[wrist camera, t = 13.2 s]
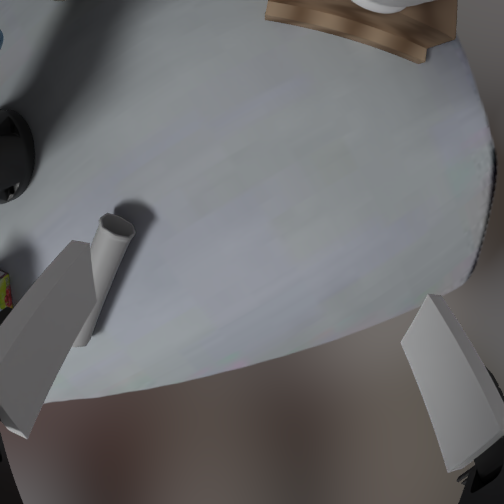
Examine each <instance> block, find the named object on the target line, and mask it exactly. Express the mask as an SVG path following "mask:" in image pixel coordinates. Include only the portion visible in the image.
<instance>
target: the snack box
mask: <svg viewBox="0 0 504 504" xmlns="http://www.w3.org/2000/svg"><path fill="white" fill-rule="evenodd" d="M6 307H10V308H13V304H12V297H11V290H10V281H9V274H8V273H6V272H3V271H1V270H0V311H1V310H3V309H4V308H6Z"/></svg>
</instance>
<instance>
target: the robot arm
mask: <svg viewBox="0 0 504 504" xmlns="http://www.w3.org/2000/svg"><path fill="white" fill-rule="evenodd" d="M2 44H3V33H2V31H1V30H0V49H1V46H2ZM33 167H34V143H33V138H32V134H31V131H30V128H29V126H28V124H27V122H26V121H25V119H24V118H23V117H22V116H21V115H20V114H19V113H17V112H15V111H13V110H0V204H4V203H7V202H9V201H12V200H14V199H16V198H17V197H19V196H20V195H21V194H22V193H23V192H24V191H25V189H26V188H27V186H28V184H29V182H30V179H31V176H32V172H33ZM96 303H97V299H96V292H95V285H94V278H93V270H92V262H91V253H90V243H86V242H80V241H74V240H72V241H71V242H70V243H69V244H68V245H67V246H66V247H65V248H64V250H63V251H62V252H61V253H60V254H59V255H58V256H57V257H56V258H55V259H54V261H53V262H52V263H51V264H50V265H49V266H48V267H47V268H46V270H45V271H44V272H43V273H42V274H41V275H40V277H39V278H38V279H37V280H36V281H35V282H34V284H33V285H32V286H31V287H30V288H29V290H28V291H27V292H26V293H25V295H24V296H23V297H22V298H21V299H20V301H19V302H18V303H17V305H16V306H15V307H14V308H10V307H6V308H4V309H3V310H1V311H0V421H1V422H2V423H3V424H4V425H5V426H6V428H7V429H8V430H10V431H12V432H14V433H16V434H18V435H20V436H22V437H24V438H26V439H28V437H29V435H30V432H31V430H32V427H33V425H34V423H35V421H36V418H37V416H38V414H39V412H40V409H41V407H42V405H43V403H44V401H45V399H46V396H47V394H48V392H49V390H50V388H51V386H52V384H53V382H54V380H55V378H56V376H57V374H58V372H59V370H60V368H61V366H62V364H63V362H64V360H65V358H66V356H67V354H68V353H69V351H70V349H71V347H72V345H73V343H74V341H75V340H76V338H77V336H78V334H79V332H80V331H81V329H82V327H83V325H84V323H85V322H86V320H87V318H88V316H89V315H90V313H91V311H92V310H93V308H94V306H95V304H96ZM401 345H402V347H403V349H404V352H405V354H406V357H407V359H408V361H409V364H410V366H411V369H412V371H413V374H414V376H415V379H416V381H417V384H418V386H419V389H420V392H421V394H422V397H423V400H424V402H425V405H426V408H427V411H428V413H429V416H430V419H431V421H432V425H433V427H434V430H435V433H436V436H437V439H438V442H439V445H440V449H441V452H442V455H443V458H444V462H445V465H446V468H447V472H448V473H449V472H452V471H455V470H458V469H462V468H464V467H465V466H466V465H468V464H469V463H470V462H472V461H473V460H474V462H475V465H474V466H473V467H472V468H470V469H469V470H467V471H466V472H465V473H463V474H462V475H460V476H459V477H458V479H457V482H459V481H461V480H462V479H463V478H465V477H467V476H468V478H467V479H465V480H464V481H463V482H462V484H463V485H465V487H464V490H463V493H462V496H461V498H460V501H459V503H458V504H504V396H503V393H502V391H501V389H500V388H498V386H499V385H498V383H497V381H496V379H495V378H494V376H493V374H492V373H491V372H490V371H489V370H488V369H487V368H486V367H485V366H484V364H483V362H482V360H481V358H480V357H479V355H478V354H477V352H476V350H475V348H474V346H473V345H472V343H471V342H470V340H469V338H468V336H467V335H466V333H465V331H464V330H463V328H462V326H461V325H460V323H459V322H458V320H457V319H456V317H455V315H454V314H453V312H452V311H451V309H450V308H449V306H448V305H447V303H446V302H445V300H444V299H443V297H442V296H441V295H434V294H428V295H427V297H426V298H425V300H424V302H423V304H422V306H421V308H420V310H419V311H418V313H417V315H416V317H415V319H414V320H413V322H412V324H411V326H410V327H409V329H408V331H407V332H406V334H405V336H404V337H403V339H402V341H401ZM0 504H23V502H22V499H21V497H20V494H19V491H18V489H17V486H16V483H15V480H14V477H13V474H12V471H11V469H10V465H9V462H8V459H7V455H6V452H5V448H4V444H3V441H2V437H1V433H0Z"/></svg>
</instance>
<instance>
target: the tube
mask: <svg viewBox="0 0 504 504" xmlns="http://www.w3.org/2000/svg"><path fill="white" fill-rule="evenodd" d="M135 234H136V232H135V229H134V226H133V224H131V223H130V222H128V221H127V220H125V219H123V218H122V217H120V216H118V215H114V214H109V213H106V214H105V215H103V216H102V217H101V218H100V219H99V226H98V229H97V231H96V234H95V237H94V239H93V242H92V245H91V248H90V253H91V262H92V270H93V278H94V285H95V292H96V299H97V303H96V304H95V306H94V308H93V310H92V311H91V313H90V315H89V316H88V318H87V320H86V322H85V323H84V325H83V327H82V329H81V331H80V332H79V334H78V336H77V338H76V340H75V341H74V343H73V346H74V347H83V346H86V345H87V344H88V342H89V341H90V339H91V336H92V334H93V331H94V328H95V325H96V323H97V320H98V317H99V315H100V312H101V309H102V307H103V304H104V302H105V299H106V297H107V294H108V292H109V289H110V287H111V284H112V282H113V279H114V277H115V275H116V272H117V270H118V268H119V265H120V263H121V261H122V258H123V256H124V254H125V252H126V249H127V247H128V245H129V243H130V241H131V239H132V238H133V237H134V236H135Z"/></svg>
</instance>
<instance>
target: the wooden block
mask: <svg viewBox="0 0 504 504" xmlns="http://www.w3.org/2000/svg"><path fill="white" fill-rule="evenodd" d="M265 20H269V21H275V22H280V23H286V24H291V25H296V26H300V27H305V28H309V29H314V30H318V31H322V32H326V33H329V34H333V35H337V36H340V37H344V38H347V39H351V40H354V41H357V42H360V43H363V44H367V45H370V46H372V47H375V48H378V49H381V50H384V51H387V52H389V53H392V54H395V55H397V56H400V57H402V58H405V59H407V60H410V61H412V62H415V63H417V64H420V63H424V62H425V59H426V51H427V48H430V47H433V46H436V45H439V44H442V43H445V42H449V41H452V40H455V38H456V24H457V0H434V1H430V2H425V3H422V4H419V5H415V6H409V7H406V8H405V9H403V10H401V11H399V12H396V13H390V14H384V13H377V12H373V11H370V10H367V9H365V8H363V7H361V6H359V5H357V4H355V3H354V2H353V1H351V0H268V4H267V9H266V13H265Z"/></svg>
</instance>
